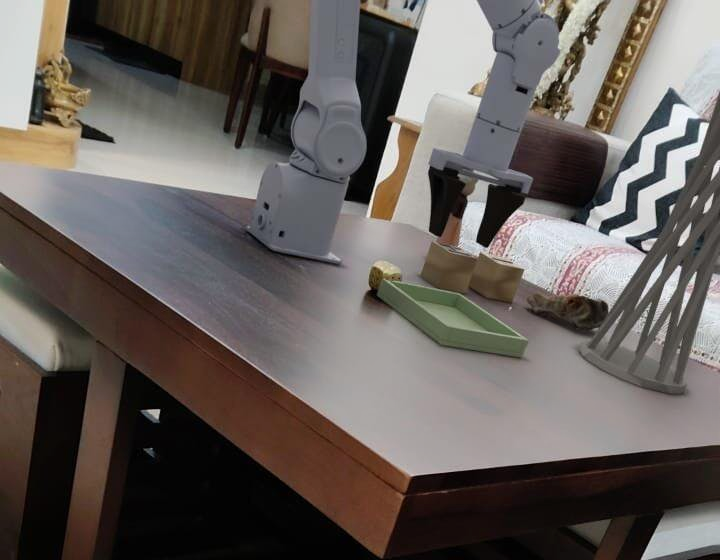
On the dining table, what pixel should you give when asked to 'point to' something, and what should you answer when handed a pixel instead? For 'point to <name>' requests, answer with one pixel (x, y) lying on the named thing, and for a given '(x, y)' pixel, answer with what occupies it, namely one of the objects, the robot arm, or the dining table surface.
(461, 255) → the wooden h block
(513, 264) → the wooden i block
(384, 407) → the dining table surface
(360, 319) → the dining table surface
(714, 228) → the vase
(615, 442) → the dining table surface
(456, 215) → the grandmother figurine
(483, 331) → the tray
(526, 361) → the dining table surface
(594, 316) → the rock
